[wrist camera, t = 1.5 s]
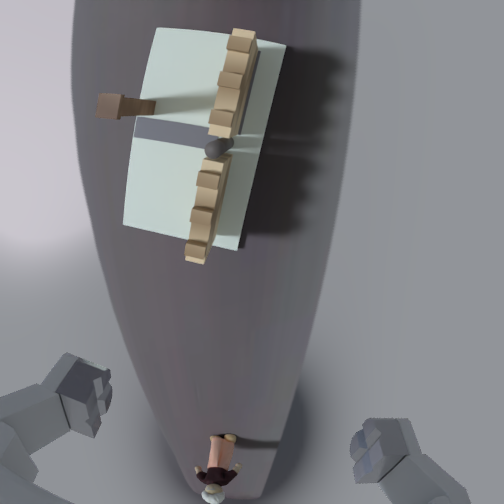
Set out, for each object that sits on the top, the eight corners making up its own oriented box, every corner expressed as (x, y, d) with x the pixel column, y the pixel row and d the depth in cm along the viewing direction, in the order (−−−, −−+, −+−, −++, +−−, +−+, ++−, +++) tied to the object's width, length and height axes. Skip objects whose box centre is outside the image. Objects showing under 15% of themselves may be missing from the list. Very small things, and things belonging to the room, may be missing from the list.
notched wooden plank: (216, 150, 27) (200, 160, 21) (233, 154, 27) (221, 164, 21) (200, 233, 30) (182, 264, 24) (215, 236, 30) (201, 269, 24)
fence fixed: (241, 47, 23) (231, 24, 17) (258, 50, 23) (254, 27, 17) (217, 147, 27) (200, 156, 20) (234, 150, 27) (222, 161, 20)
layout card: (159, 29, 23) (156, 27, 22) (286, 46, 24) (286, 45, 23) (125, 222, 31) (122, 224, 30) (237, 248, 32) (236, 251, 31)
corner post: (141, 97, 25) (99, 92, 18) (158, 99, 25) (121, 94, 18) (137, 115, 26) (95, 117, 19) (155, 117, 26) (116, 119, 19)
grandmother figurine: (234, 428, 44) (226, 497, 32) (246, 440, 45) (241, 506, 34) (195, 437, 46) (182, 500, 34) (208, 447, 47) (198, 508, 35)
